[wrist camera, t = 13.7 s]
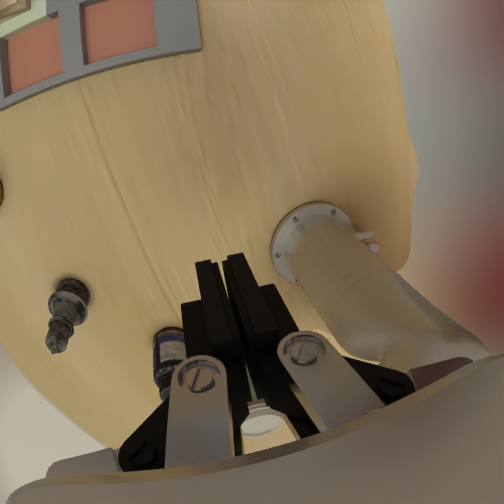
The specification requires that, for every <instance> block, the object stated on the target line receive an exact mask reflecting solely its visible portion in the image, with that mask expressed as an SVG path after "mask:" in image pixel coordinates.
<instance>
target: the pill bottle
mask: <svg viewBox="0 0 504 504" xmlns="http://www.w3.org/2000/svg"><path fill="white" fill-rule="evenodd" d="M186 359H187V358H186V350H185V341H184V332H183V330H181V329H178V328H166V329H163V330H161V331H160V332H159V333H157V334H156V336H155V337H154V340H153V372H154V381H155V383H156V385H157V386H158V387H159V392H160V398H161V400H162V401H164V400H165V399H166V398H167V397H168V396H169V395H170V390H171V380H172V375H173V372H174V370H175V369H176V367H177V366H178V365H179V364H180V363H181V362H183V361H184V360H186Z"/></svg>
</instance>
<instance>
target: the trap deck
mask: <svg viewBox="0 0 504 504" xmlns="http://www.w3.org/2000/svg"><path fill="white" fill-rule="evenodd" d="M201 48H202V47H201V38H200V30H199V21H198V12H197V3H196V0H31V10H29V11H27V12H24V13H22V14H20V15H18V16H16V17H14V18H12V19H10V20H8V21H6V22H5V23H3V24H1V25H0V111H3V110H5V109H7V108H9V107H11V106H13V105H15V104H18V103H20V102H22V101H24V100H26V99H29V98H31V97H33V96H36V95H38V94H41V93H43V92H46V91H48V90H51V89H53V88H56V87H59V86H61V85H64V84H67V83H70V82H73V81H76V80H78V79H82V78H85V77H88V76H91V75H94V74H97V73H101V72H104V71H108V70H111V69H115V68H119V67H123V66H127V65H131V64H135V63H139V62H144V61H148V60H153V59H158V58H163V57H169V56H174V55H180V54H186V53H193V52H200V50H201Z"/></svg>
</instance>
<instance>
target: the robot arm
mask: <svg viewBox="0 0 504 504" xmlns="http://www.w3.org/2000/svg"><path fill="white" fill-rule="evenodd" d="M294 217H295V218H294ZM371 238H373V231H372V230H371V229H367V230H363V231H360V232H358V231H357V230H355V229H354V228H353V226H352V223H351V221H350V219H349V217H348V216H347V215H346V214H345V213H344V212H343V211H342V210H341V209H339V208H338V207H336V206H334V205H332V204H329V203H325V202H314V203H309V204H306V205H303V206H300V207H299V208H297V209H295V210H293V211H292V212H291V213H290V214H288V215H287V216H286V217H285V218H284V219H283V220H282V222H281V223H280V224H279V226H278V227H277V229H276V231H275V233H274V236H273V238H272V242H271V258H272V262H273V264H274V266H275V268H276V270H277V271H278V273H279V274H280V275H281V276H282V277H283V278H284V279H286V280H288V281H289V282H292V283H295V284H300V286H301V288H302V289H303V291H304V292H305V294H306V295H307V297H308V298H309V300H310V301H311V303H312V304H313V306H314V307H315V309H316V310H317V312H318V314H319V315H320V317H321V318H322V320H323V321H324V323H325V324H326V326H327V327H328V329H329V330H330V332H331V334H332V335H333V336H334V338H335V339H336V341H337V343H338V344H339V345H340V346H341V348H342V349H344V350H345V351H346V352H348V353H349V354H350V355H352V356H354V357H357V358H360V359H364V360H369V361H377V362H380V363H379V365H375V364H371V363H367V362H363V361H359V360H356V359H352V358H349V357H345V356H342V355H341V354H340V353H339V352H338V351H337V350H336V349H335V348H334V346H333V345H332V344H331V343H330V342H329V341H328V340H327V339H326V338H325V337H324V336H323V335H321V334H319V333H316V332H312V331H299V329H298V327H297V325H296V323H295V322H294V320H293V318H292V316H291V314H290V312H289V310H288V309H287V307H286V305H285V303H284V301H283V299H282V298H281V296H280V294H279V292H278V290H277V288H276V287H275V285H274V284H273V283H272V284H268V285H264V286H258V284H257V282H256V280H255V278H254V275H253V273H252V271H251V269H250V267H249V265H248V263H247V260H246V258H245V256H244V254H243V253H238V254H233V255H228V256H227V260H225V261H222V265H223V271H224V276H225V282H226V287H227V293H228V296H227V293H226V289H225V286H224V283H223V280H222V276H221V273H220V270H219V266H218V263H217V262H215V263H211V260H210V259H209V260H205V261H200V262H195V266H196V272H197V277H198V283H199V289H200V294H201V300H197V301H192V302H187V303H182V304H181V313H182V323H183V332H184V341H185V350H186V358H187V359H186V360H184V361H183V362H181V363H180V364H179V365H178V366H177V367H176V369H175V370H174V372H173V375H172V380H171V390H170V395H169V396H168V397H167V398H166V399H165V400H164V401H163V403H162V404H161V405H160V406H159V407H158V408H157V409H156V410H155V411H154V412H153V413H152V414H151V415H150V416H149V417H148V418H147V419H146V420H145V421H144V422H143V423H142V424H141V425H140V426H139V427H138V428H137V429H136V431H135V432H134V433H133V434H132V435H131V436H130V437H129V438H128V439H127V440H126V441H125V442H124V443H123V445H122V446H121V447H120V448H119V449H115V450H113V449H112V448H111V447H110V448H107V449H103V450H100V451H96V452H92V453H89V454H85V455H81V456H76V457H72V458H68V459H64V460H59V461H57V462H55V463H53V464H52V465H51V466H50V467H49V469H48V471H47V474H46V478H43V479H40V480H36V481H33V482H31V483H28V484H26V485H24V486H22V487H20V488H18V489H17V490H15V491H14V492H13V493H12V494H11V495H10V496H9V498H8V500H7V501H6V504H504V353H503V354H496V355H491V353H490V351H489V349H488V348H487V347H486V346H485V344H484V343H483V342H482V341H481V340H480V339H479V338H478V337H477V336H476V335H474V334H473V333H472V332H470V331H469V330H468V329H466V328H465V327H464V326H462V325H461V324H459V323H458V322H456V321H455V320H453V319H452V318H451V317H449V316H448V315H446V314H445V313H443V312H442V311H441V310H439V309H438V308H437V307H435V306H434V305H433V304H431V303H430V302H429V301H428V300H427V299H425V298H424V297H423V296H422V295H421V294H420V293H419V292H418V291H416V290H415V289H414V288H413V287H412V286H411V285H410V284H409V283H407V282H406V281H405V280H404V279H403V278H402V277H401V276H400V275H398V274H397V273H396V272H395V271H394V270H393V269H392V268H391V267H390V266H389V265H387V264H386V263H385V262H384V261H383V260H382V259H381V258H380V257H379V256H377V255H376V254H377V253H379V245H378V243H377V242H376V241H372V242H368V243H365V244H364V243H363V242H361V241H360V240H366V239H371ZM228 298H229V299H228ZM245 363H246V364H245ZM246 366H247V369H248V372H249V375H250V379H251V382H252V385H253V388H254V391H255V394H256V397H257V399H258V400H260V399H264V401H265V404H266V407H269V406H270V408H271V409H273V410H276V411H278V412H281V414H282V416H283V419H284V420H285V422H286V424H287V425H288V427H289V429H290V430H291V432H292V434H293V435H294V437H295V438H296V440H297V441H294V442H290V443H287V444H283V445H280V446H277V447H273V448H269V449H265V450H262V451H258V452H254V453H250V454H245V452H244V442H243V432H242V427H241V425H242V424H243V422H244V421H245V419H246V418H247V417H248V415H249V414H250V413H249V408H248V404H247V403H248V402H252V395H251V390H250V385H249V380H248V375H247V370H246Z"/></svg>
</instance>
